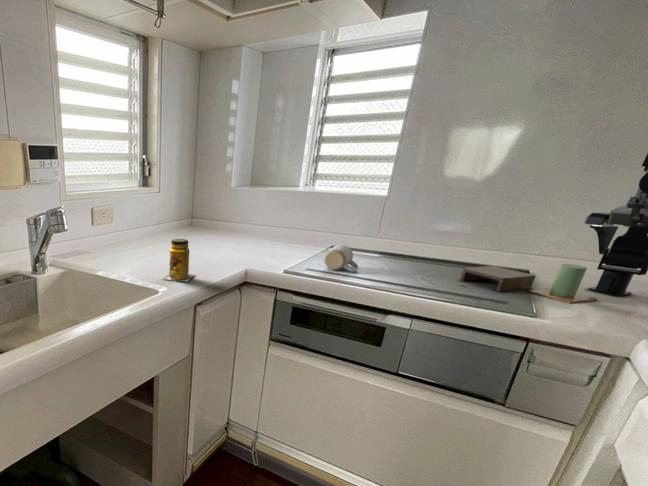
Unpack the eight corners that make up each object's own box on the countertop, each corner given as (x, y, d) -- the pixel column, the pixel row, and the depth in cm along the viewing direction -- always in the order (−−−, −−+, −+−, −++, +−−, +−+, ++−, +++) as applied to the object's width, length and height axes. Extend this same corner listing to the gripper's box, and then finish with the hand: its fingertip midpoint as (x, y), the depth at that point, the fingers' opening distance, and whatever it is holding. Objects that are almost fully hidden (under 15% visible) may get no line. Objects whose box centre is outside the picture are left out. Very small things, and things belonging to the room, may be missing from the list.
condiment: (164, 279, 125) (165, 241, 120) (173, 273, 132) (174, 236, 128) (187, 282, 123) (188, 242, 118) (194, 275, 130) (196, 238, 125)
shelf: (489, 277, 128) (493, 265, 126) (530, 288, 117) (535, 275, 116) (459, 280, 125) (463, 267, 124) (499, 291, 114) (504, 278, 113)
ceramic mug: (320, 268, 138) (325, 246, 134) (327, 264, 143) (332, 242, 140) (354, 274, 132) (359, 251, 128) (360, 269, 137) (365, 247, 134)
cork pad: (553, 289, 117) (554, 287, 117) (596, 300, 108) (597, 298, 108) (527, 291, 115) (528, 290, 114) (569, 303, 106) (570, 301, 105)
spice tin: (558, 291, 114) (569, 263, 111) (579, 296, 109) (592, 267, 106) (545, 292, 113) (556, 264, 110) (566, 298, 108) (578, 269, 105)
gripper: (582, 190, 102) (557, 251, 108) (689, 197, 85) (653, 269, 91) (613, 190, 104) (587, 249, 110) (722, 196, 88) (685, 266, 94)
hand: (624, 257), depth 101 cm, fingers open, 9 cm apart
